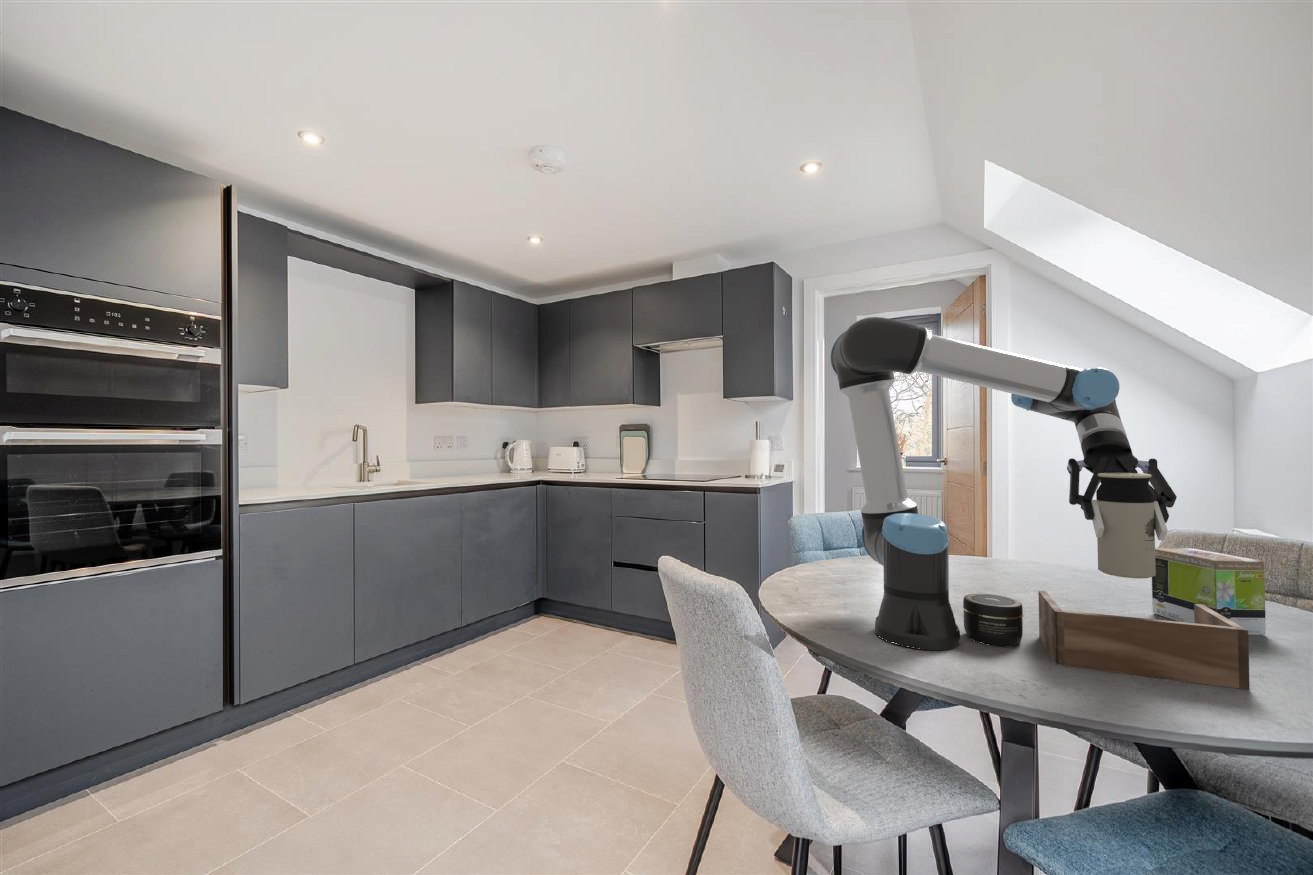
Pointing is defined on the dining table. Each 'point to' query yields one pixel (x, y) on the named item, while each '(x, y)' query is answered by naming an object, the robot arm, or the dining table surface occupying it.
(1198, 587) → the tea box
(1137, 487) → the travel mug
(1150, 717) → the dining table surface
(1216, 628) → the walnut crate
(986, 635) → the jar
